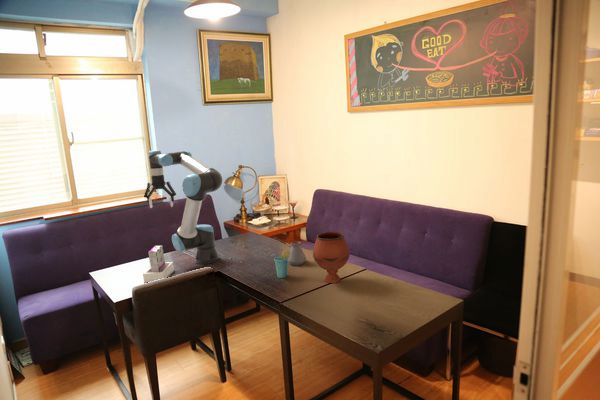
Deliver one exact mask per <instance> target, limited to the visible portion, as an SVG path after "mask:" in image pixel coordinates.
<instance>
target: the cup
mask: <svg viewBox="0 0 600 400" xmlns="http://www.w3.org/2000/svg"><path fill="white" fill-rule="evenodd" d="M273 256H274V258H273V261H274V264H275V270H276V276H277V278H278V279H284V278H287V277H288V258H289V256H290V250H286V249H285V250H283V252H282V253H281V255H277V254H276V253H272V254H271V255H270V258H272V257H273Z"/></svg>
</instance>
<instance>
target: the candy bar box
mask: <svg viewBox="0 0 600 400" xmlns="http://www.w3.org/2000/svg"><path fill="white" fill-rule="evenodd" d="M148 257H149V263H150V264H149V265H150V267H151V272H162V271H163V270H164V269H165V268H166V267H165V262H166V260H165V254H164V248H163V245H154V246H153V247H152V248H151V249H150V250H149V251H148Z"/></svg>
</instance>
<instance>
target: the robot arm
mask: <svg viewBox="0 0 600 400" xmlns="http://www.w3.org/2000/svg"><path fill="white" fill-rule="evenodd" d="M147 154H148V161H149V170H150V175H151V182H147V183H146V189H145V191H144V195H143V197H144V198H146V200H147V203H148V204H149V208H150V209H152V208H153V201H152V197H151V196H152V195H153V193H154V192H155V190H163V191H164V192H166V193H167V194H168V195H169V204H170V207H171V208H172V207H174V201H175V196H176V195H177V192H176V191H175V190H174V188H173V187H172V185H171V181H169V180H168V181H165V174H164V167H169V166H174V165H181V166H182V167H185V168H186V169H187V170H189V171H191V172H192V174H188V175H186V176H185V177H184V179H183V180H182V186H181V187H182V192H183V194H184V196H185V197H186V201H185V204H184V209H183V214H182V215H183V216H182V219H181V225H180V226H179V227H178V228H177V232H175V233H174V234H172V235H171V242H172V244H173V248H174V249H175V250H176V251H177V252H179V253H182V252H183V253H184V252H187V251H189V250H190V251H191V250H193V249H196V252H195V257H194V262H195V263H197V264H199V265H200V264H201V265H202V264H203V265H206V264H211V263H212V264H213V263H215V262H218V261H219V259H220V255H219V253H218V252H219V251H218V250H217V248H216V242H215V241H216V240H215V233H214V232H215V231H214V226H212V225H210V224H198V220H199V216H200V213H201V212H200V210H201V208H202V202H203V201H205V200H206V197H207V194H208V193H214V192H216V191H218V190H219V189H220V187H221V186H222V184H223V177H222V174H221V173H220V172H219V171H218V170H217V169H215V168H213V167H209V166H207V165H205V164H204V163H202V162H201V161H199V160H197V159H196V158H194V157H193V155H192V153H191V152H190V151H186V150H185V151H184V150H183V151H176V152H168V153H167V152H166V153H162V151H161V150H160V149H153V150H149V151H148V153H147ZM165 185H166V186H167V187H166V186H165ZM151 186H152V188H151ZM150 189H151V190H150Z"/></svg>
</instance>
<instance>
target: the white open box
mask: <svg viewBox="0 0 600 400" xmlns="http://www.w3.org/2000/svg"><path fill="white" fill-rule="evenodd" d="M165 267H166V268H165V269H164V270H163V271H162V272H151V266H150V267H148V268H147V269H146V270H145V271H144V272H143V273H142V276H143V283H144V284H148V283H147V282H150V281H154V280H158V279H162V278H166V277H168V278H170V276H171V275H172V274H173V273H174V272H175V266H174V261H167V262H166V261H165Z"/></svg>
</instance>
